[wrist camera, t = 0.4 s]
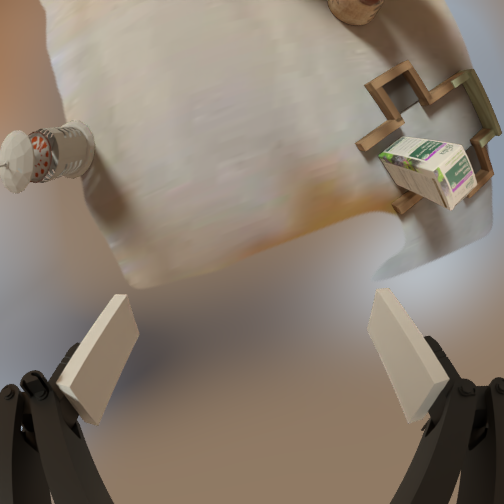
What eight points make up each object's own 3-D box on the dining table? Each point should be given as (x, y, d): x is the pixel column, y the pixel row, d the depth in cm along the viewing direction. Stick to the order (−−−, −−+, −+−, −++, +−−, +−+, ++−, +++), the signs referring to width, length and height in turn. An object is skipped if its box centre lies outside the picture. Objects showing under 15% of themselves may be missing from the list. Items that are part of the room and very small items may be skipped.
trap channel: (409, 238, 41) (420, 248, 37) (329, 108, 33) (337, 105, 30) (498, 159, 34) (511, 163, 30) (441, 40, 26) (454, 36, 22)
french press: (96, 176, 37) (-26, 231, 14) (46, 181, 37) (-62, 232, 14) (95, 115, 33) (-36, 123, 10) (44, 127, 33) (-71, 150, 10)
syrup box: (401, 134, 34) (462, 141, 21) (420, 165, 36) (480, 185, 23) (376, 155, 36) (432, 169, 22) (396, 186, 37) (452, 213, 24)
